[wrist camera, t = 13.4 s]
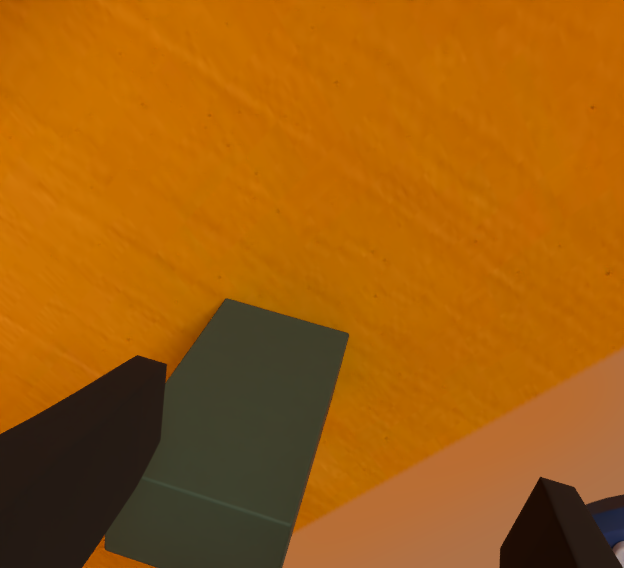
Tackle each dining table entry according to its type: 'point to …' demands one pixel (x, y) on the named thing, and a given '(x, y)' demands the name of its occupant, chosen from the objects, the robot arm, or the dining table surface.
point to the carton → (233, 444)
